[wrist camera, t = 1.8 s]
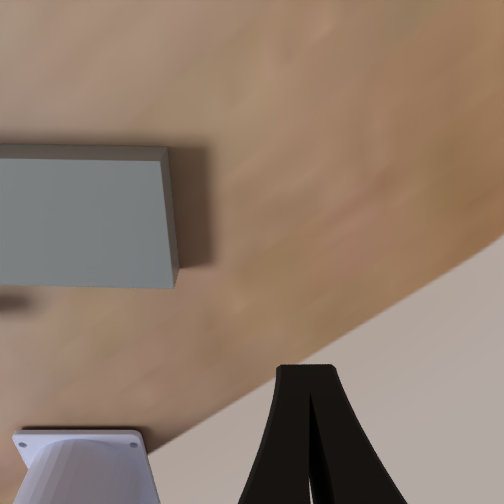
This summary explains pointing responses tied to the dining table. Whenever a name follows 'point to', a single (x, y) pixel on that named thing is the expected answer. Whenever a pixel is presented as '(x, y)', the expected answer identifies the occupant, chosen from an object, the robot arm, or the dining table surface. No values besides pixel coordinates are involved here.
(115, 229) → the tile
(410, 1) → the dining table surface
